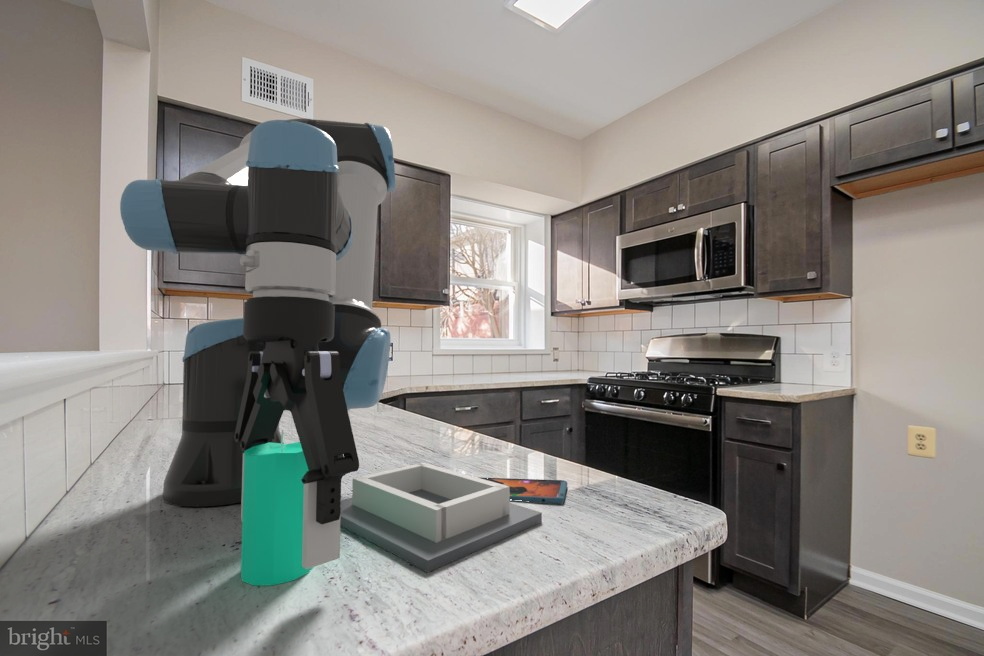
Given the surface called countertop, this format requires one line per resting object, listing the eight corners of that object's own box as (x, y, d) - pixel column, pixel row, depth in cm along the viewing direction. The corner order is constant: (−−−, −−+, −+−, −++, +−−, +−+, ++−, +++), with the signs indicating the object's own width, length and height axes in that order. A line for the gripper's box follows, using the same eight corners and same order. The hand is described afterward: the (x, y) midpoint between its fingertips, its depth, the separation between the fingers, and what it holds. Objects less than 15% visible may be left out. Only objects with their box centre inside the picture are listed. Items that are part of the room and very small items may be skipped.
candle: (312, 580, 38) (315, 434, 38) (231, 590, 36) (236, 437, 37) (318, 549, 44) (320, 423, 44) (248, 557, 42) (252, 426, 42)
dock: (320, 514, 53) (320, 479, 53) (428, 484, 64) (429, 456, 65) (427, 572, 39) (428, 524, 39) (541, 521, 51) (541, 485, 51)
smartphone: (465, 476, 68) (567, 480, 64) (465, 485, 68) (567, 489, 64) (447, 491, 60) (563, 496, 56) (447, 502, 60) (563, 507, 56)
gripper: (204, 305, 47) (196, 514, 46) (313, 278, 30) (306, 609, 29) (278, 310, 53) (273, 497, 52) (407, 289, 36) (404, 569, 34)
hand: (285, 538), depth 40 cm, fingers open, 13 cm apart
